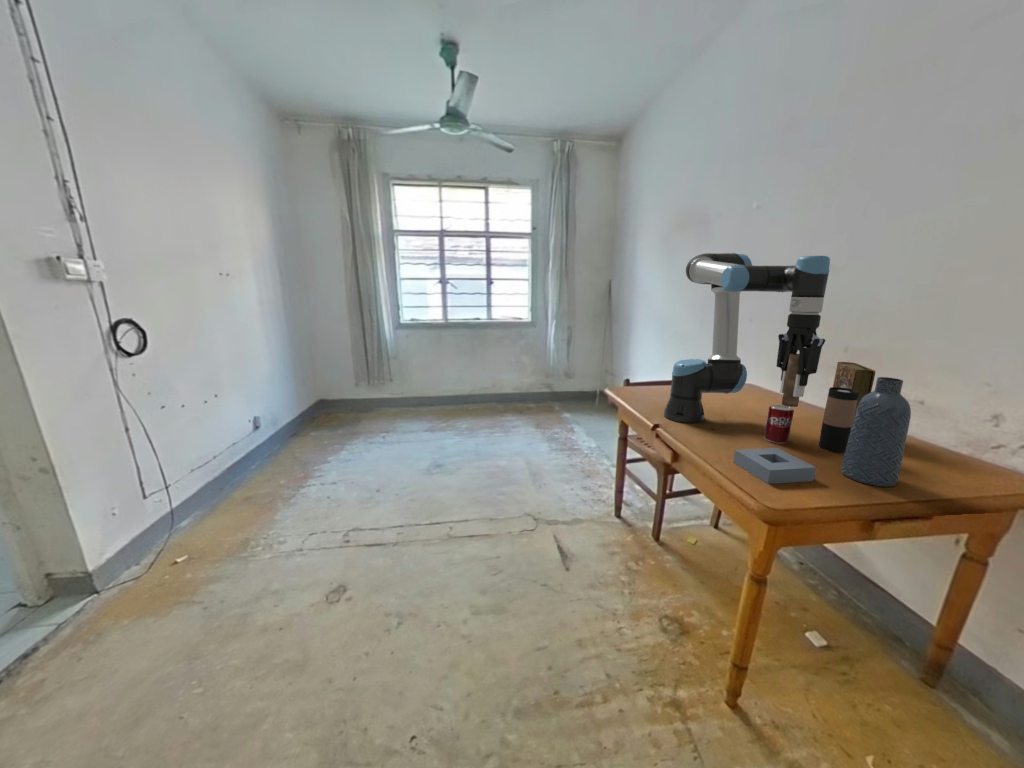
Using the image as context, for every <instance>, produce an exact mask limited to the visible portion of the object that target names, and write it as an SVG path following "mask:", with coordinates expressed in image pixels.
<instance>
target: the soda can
mask: <svg viewBox="0 0 1024 768" xmlns="http://www.w3.org/2000/svg"><path fill="white" fill-rule="evenodd" d="M767 409H768V410H767V415H766V422H765V428H764V434H763V438H764V440H765V441H767V442H770V443H773V444H780V445H784V444H787V443H789V440H790V436H791V430H792V423H793V419H794V413H795V412H794V411H795V410H794V407H789V406H784V405H782V404H771V405H769V406H768V408H767Z"/></svg>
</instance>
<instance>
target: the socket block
mask: <svg viewBox="0 0 1024 768" xmlns="http://www.w3.org/2000/svg"><path fill="white" fill-rule="evenodd" d="M733 457H734V458H733V463H734V464H735V465H736V466H739V467H740V468H741V469H743V470H745V471H746V472H747V473H749V474H751V475H753V476H754V477H755V478H758V479H759V480H760V481H762V482H764V483H765V484H767V485H771V484H775V485H776V484H786V483H787V484H789V483H801V482H802V483H803V482H814V481H815V477H816V473H817V467H816V466H814V465H812V464H810V463H809V462H807V461H805V460H802V459H800V458H798V457H797V456H794V455H793V454H791V453H788V452H786V451H784V450H782V449H780V448H778V447H771V448H770V447H768V448H750V449H749V448H748V449H735V450H734V456H733Z"/></svg>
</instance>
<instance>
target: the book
mask: <svg viewBox="0 0 1024 768" xmlns="http://www.w3.org/2000/svg"><path fill="white" fill-rule="evenodd" d="M875 376H876V370H874V369H872V368H870V367H866V366H864V365H861V364H859V363H855V362H850V361H849V362H848V361H838V362H837V365H836V368H835V373H834V380H833V385H832V387H840V388H848V389H851V390H852V391H854V392H858V391H859V395H858V400H857V405H858V403H859V401H860V400H861V399H862V398H863V397H864V396H865V395H867V394H868V393H871V392H873V391H872V390H873V386H874V380H875ZM857 405H856V408H857ZM855 412H856V410H855Z"/></svg>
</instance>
